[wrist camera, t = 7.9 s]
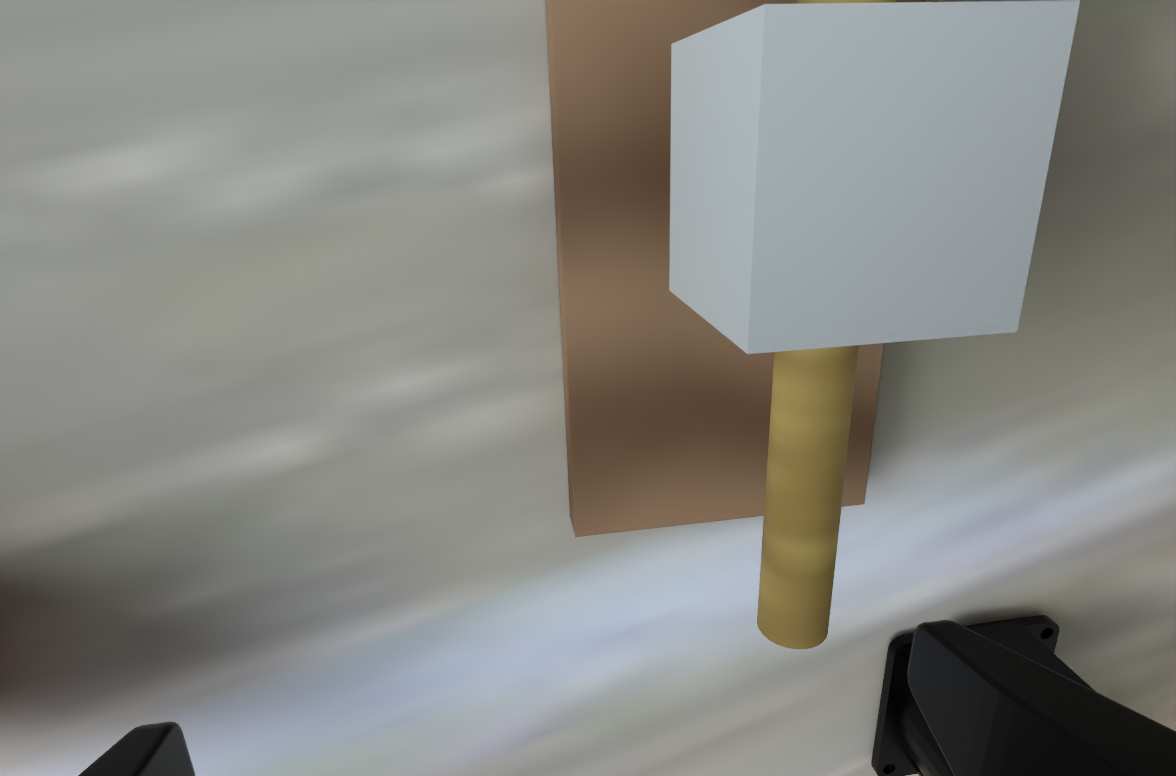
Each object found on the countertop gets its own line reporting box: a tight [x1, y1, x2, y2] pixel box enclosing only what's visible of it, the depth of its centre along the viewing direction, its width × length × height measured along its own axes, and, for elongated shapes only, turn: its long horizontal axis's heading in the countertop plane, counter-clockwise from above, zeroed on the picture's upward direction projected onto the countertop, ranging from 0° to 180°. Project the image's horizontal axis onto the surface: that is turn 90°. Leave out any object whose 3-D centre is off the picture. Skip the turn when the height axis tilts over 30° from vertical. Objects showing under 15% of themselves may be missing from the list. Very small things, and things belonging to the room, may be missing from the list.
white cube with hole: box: [669, 0, 1080, 354], centre depth 13 cm, size 5×5×5 cm
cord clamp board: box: [545, 0, 925, 649], centre depth 15 cm, size 18×9×8 cm, turn 2°
